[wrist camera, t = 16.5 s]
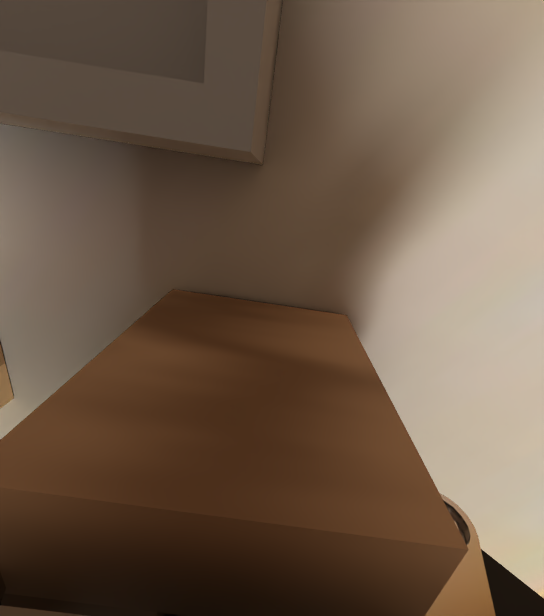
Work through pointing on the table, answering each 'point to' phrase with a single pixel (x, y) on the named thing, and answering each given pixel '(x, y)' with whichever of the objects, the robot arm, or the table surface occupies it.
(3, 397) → the oak block
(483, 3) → the table surface
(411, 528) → the walnut block
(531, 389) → the table surface
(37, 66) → the tray
